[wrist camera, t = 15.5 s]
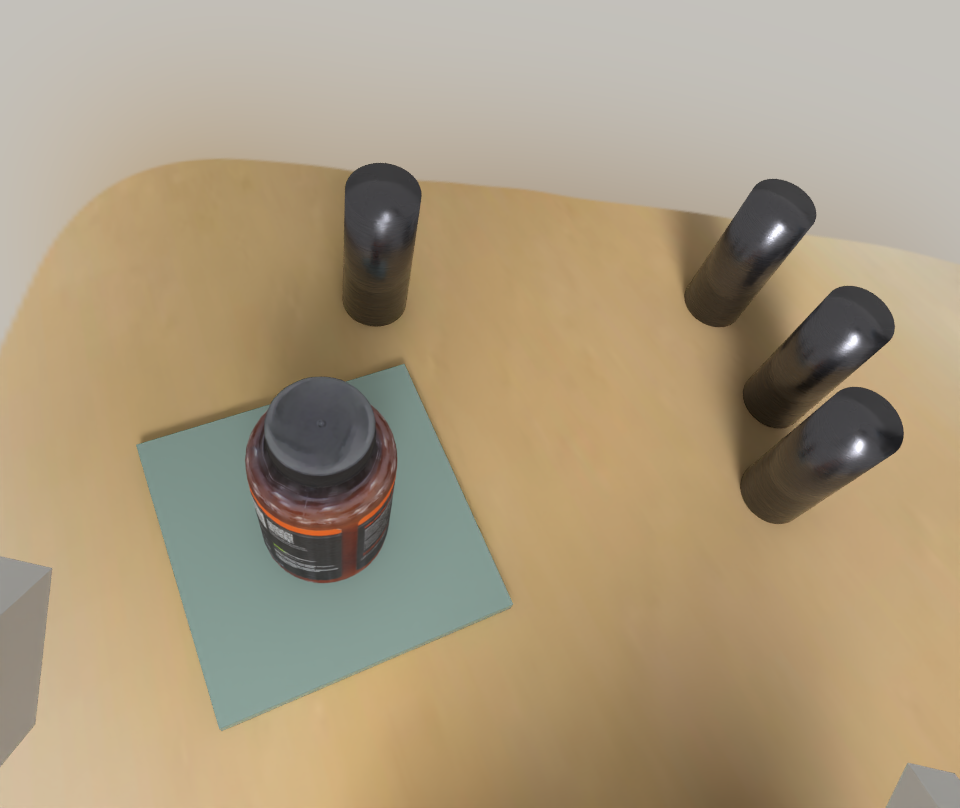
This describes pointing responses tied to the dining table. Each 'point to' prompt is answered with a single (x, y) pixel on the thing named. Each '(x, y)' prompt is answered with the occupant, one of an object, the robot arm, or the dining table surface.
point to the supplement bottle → (322, 479)
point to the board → (307, 605)
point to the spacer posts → (714, 301)
